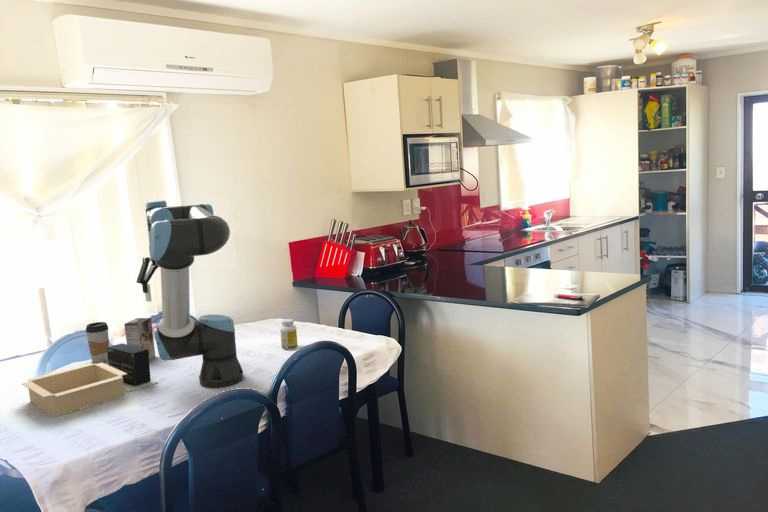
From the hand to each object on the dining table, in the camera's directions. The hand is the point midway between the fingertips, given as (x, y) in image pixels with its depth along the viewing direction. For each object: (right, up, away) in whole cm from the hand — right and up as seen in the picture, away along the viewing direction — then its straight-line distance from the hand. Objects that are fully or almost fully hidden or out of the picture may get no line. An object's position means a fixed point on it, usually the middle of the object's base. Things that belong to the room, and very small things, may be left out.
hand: (165, 297), depth 244 cm
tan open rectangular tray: (-20, -32, -28) cm, 47 cm away
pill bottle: (+44, -22, +19) cm, 53 cm away
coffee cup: (-30, -26, +13) cm, 42 cm away
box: (-8, -29, -12) cm, 33 cm away
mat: (-9, -29, -13) cm, 33 cm away
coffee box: (-13, -26, +12) cm, 32 cm away
